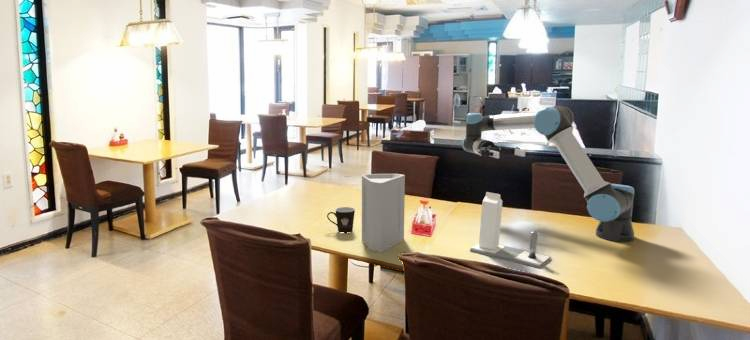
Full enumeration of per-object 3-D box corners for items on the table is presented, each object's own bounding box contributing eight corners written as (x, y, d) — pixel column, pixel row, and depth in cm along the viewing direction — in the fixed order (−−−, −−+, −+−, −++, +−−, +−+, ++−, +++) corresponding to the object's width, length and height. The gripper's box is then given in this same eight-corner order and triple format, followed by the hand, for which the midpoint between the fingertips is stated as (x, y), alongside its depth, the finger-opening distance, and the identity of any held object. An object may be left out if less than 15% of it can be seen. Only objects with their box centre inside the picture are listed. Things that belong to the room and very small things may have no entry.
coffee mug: (358, 229, 224) (358, 208, 222) (349, 235, 217) (349, 213, 215) (335, 226, 229) (335, 205, 227) (326, 231, 221) (325, 209, 219)
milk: (484, 243, 203) (489, 190, 199) (498, 246, 200) (503, 193, 196) (478, 246, 198) (482, 192, 195) (492, 250, 195) (497, 195, 191)
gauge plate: (550, 258, 190) (551, 255, 190) (539, 268, 181) (539, 264, 180) (483, 243, 207) (484, 240, 207) (470, 251, 198) (470, 247, 198)
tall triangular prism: (375, 233, 220) (375, 171, 214) (404, 239, 212) (405, 174, 206) (350, 245, 204) (349, 178, 199) (380, 252, 196) (381, 183, 191)
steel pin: (536, 257, 188) (538, 231, 186) (534, 258, 186) (535, 233, 184) (530, 255, 190) (532, 230, 188) (527, 257, 188) (529, 232, 186)
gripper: (505, 154, 241) (534, 161, 221) (461, 157, 232) (486, 164, 212) (506, 138, 239) (535, 144, 220) (461, 141, 230) (487, 147, 211)
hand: (511, 154), depth 216 cm, fingers open, 13 cm apart
